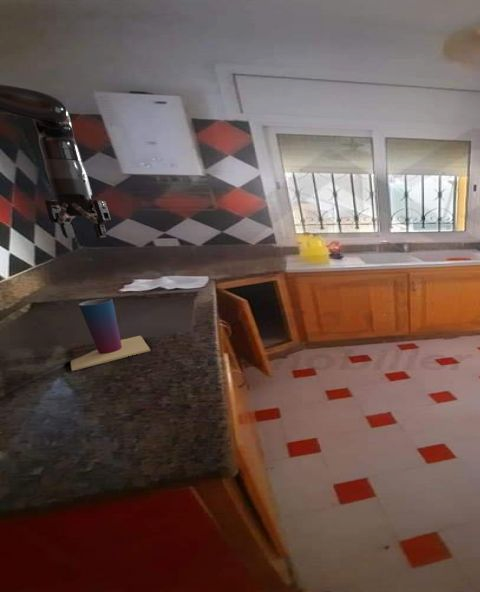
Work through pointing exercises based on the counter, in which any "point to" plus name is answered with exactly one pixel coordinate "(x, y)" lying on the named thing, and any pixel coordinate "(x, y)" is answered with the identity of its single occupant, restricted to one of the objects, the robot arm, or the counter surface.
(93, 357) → the mat
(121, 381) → the counter surface
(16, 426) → the counter surface
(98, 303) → the cup
